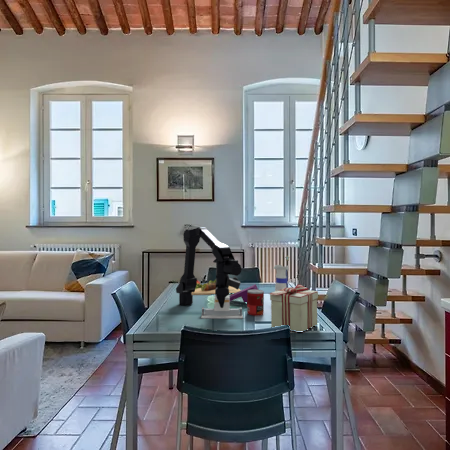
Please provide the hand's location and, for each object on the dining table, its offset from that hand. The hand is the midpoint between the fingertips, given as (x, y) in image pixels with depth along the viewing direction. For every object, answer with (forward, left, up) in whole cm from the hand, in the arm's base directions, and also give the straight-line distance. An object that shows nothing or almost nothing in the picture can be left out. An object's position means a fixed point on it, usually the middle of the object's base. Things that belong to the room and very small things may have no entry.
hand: (221, 306), depth 181 cm
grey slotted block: (0, 0, -2) cm, 2 cm away
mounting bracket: (+11, +28, -5) cm, 30 cm away
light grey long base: (0, 0, -4) cm, 4 cm away
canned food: (+16, +4, -5) cm, 17 cm away
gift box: (+29, -17, -5) cm, 34 cm away
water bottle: (+33, +33, -5) cm, 47 cm away
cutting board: (-6, +60, -5) cm, 60 cm away
